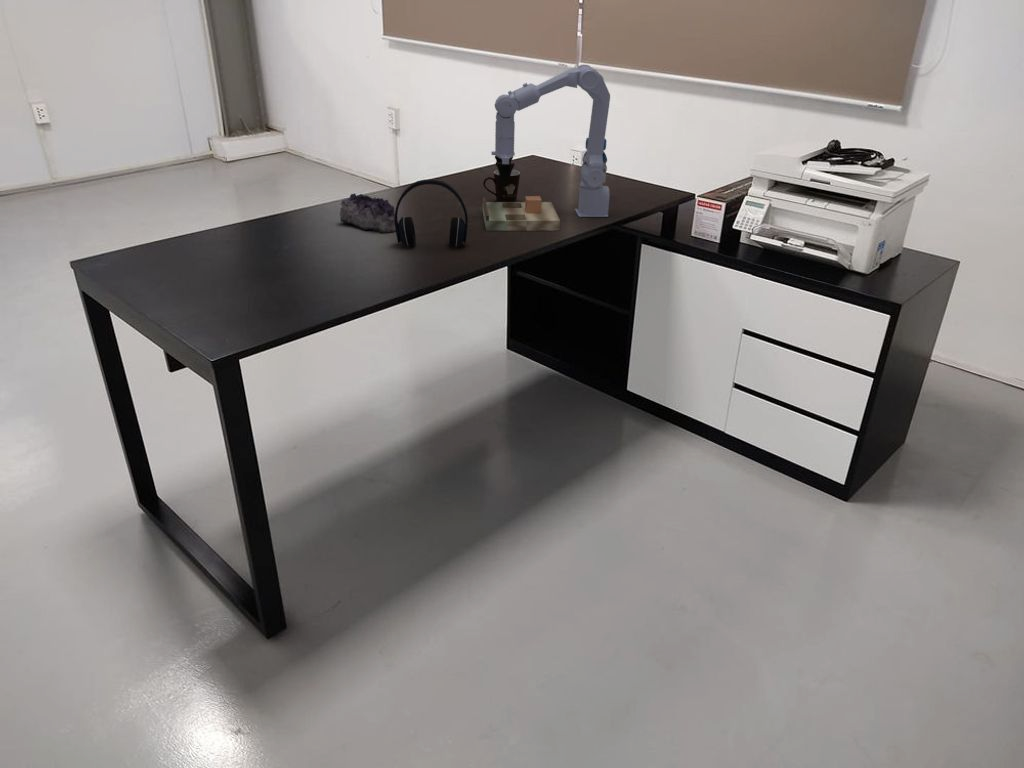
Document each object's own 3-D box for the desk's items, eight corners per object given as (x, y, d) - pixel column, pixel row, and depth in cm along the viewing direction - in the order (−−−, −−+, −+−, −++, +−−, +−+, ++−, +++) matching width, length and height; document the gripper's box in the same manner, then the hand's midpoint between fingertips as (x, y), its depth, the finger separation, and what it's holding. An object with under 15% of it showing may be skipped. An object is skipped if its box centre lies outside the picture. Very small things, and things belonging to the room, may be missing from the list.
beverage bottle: (604, 196, 265) (609, 136, 255) (604, 203, 257) (609, 142, 248) (579, 195, 266) (583, 135, 256) (578, 202, 258) (583, 140, 248)
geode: (411, 227, 230) (407, 195, 224) (384, 242, 223) (379, 209, 217) (362, 212, 240) (357, 181, 234) (335, 225, 233) (329, 194, 227)
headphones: (395, 249, 212) (391, 183, 203) (397, 241, 218) (393, 176, 209) (467, 250, 213) (467, 183, 204) (467, 241, 219) (467, 177, 210)
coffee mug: (520, 200, 259) (521, 170, 254) (518, 207, 251) (518, 176, 246) (486, 198, 259) (486, 168, 255) (482, 205, 252) (482, 174, 247)
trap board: (550, 211, 248) (551, 197, 246) (559, 230, 230) (560, 215, 228) (482, 211, 246) (482, 197, 244) (486, 230, 228) (486, 215, 226)
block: (539, 208, 239) (539, 196, 237) (541, 213, 235) (541, 200, 233) (524, 209, 239) (525, 196, 237) (526, 213, 235) (526, 200, 233)
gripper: (490, 132, 238) (490, 176, 245) (492, 142, 226) (491, 188, 232) (513, 132, 239) (512, 176, 245) (516, 142, 226) (515, 188, 233)
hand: (504, 182), depth 239 cm, fingers open, 7 cm apart
